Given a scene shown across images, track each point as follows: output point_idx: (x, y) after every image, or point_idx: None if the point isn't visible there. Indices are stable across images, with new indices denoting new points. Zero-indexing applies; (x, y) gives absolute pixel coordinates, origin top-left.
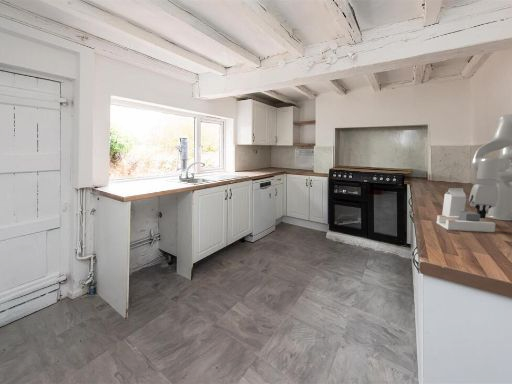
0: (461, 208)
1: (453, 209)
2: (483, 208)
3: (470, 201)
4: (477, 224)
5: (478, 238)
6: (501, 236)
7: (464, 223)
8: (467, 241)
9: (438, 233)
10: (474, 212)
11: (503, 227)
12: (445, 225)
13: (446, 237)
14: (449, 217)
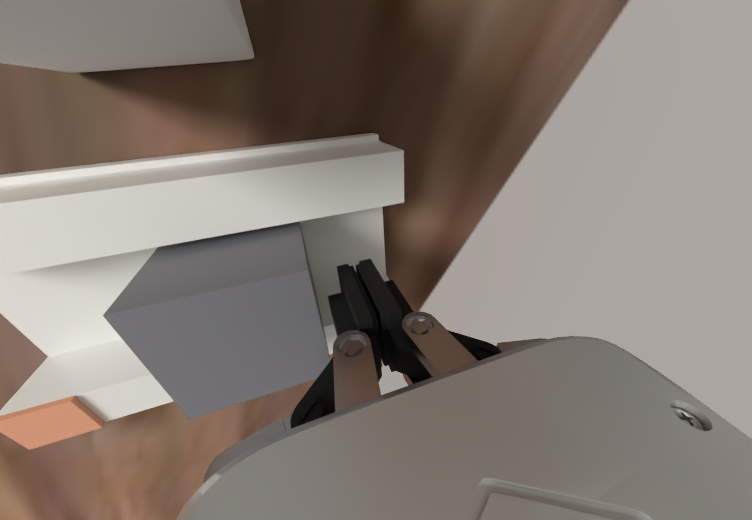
0: (142, 10)
1: None
2: (409, 357)
3: (222, 486)
4: None
5: (254, 424)
6: None
7: None
8: (194, 479)
9: (30, 466)
10: (308, 307)
11: (510, 149)
12: (45, 335)
13: (91, 491)
14: (14, 270)
